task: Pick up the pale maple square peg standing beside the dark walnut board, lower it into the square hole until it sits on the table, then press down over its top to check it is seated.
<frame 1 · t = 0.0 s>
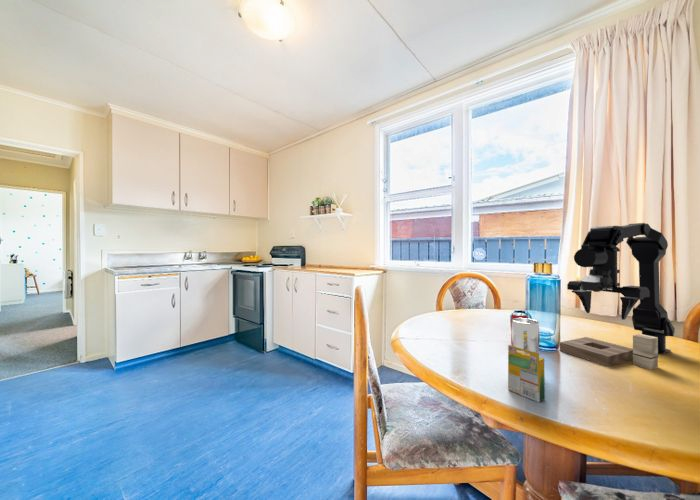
hand: (604, 316, 88), 15 cm above the table, tool pointing down, fingers open, 9 cm apart
white box: (525, 372, 82), on the table
maple peg: (645, 365, 85), on the table
beverage can: (519, 347, 102), on the table
walnut board: (596, 354, 94), on the table
crayon box: (525, 395, 69), on the table
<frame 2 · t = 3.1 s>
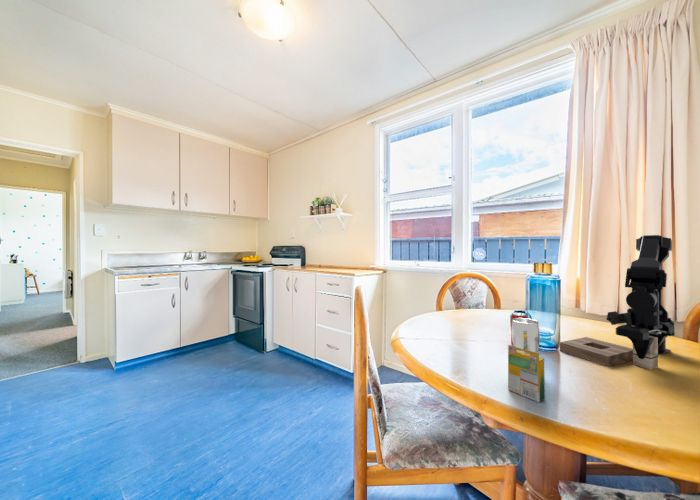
hand: (645, 357, 85), 3 cm above the table, tool pointing down, fingers closed on maple peg, 4 cm apart
maple peg: (645, 365, 85), on the table, touching gripper
everything else where it was.
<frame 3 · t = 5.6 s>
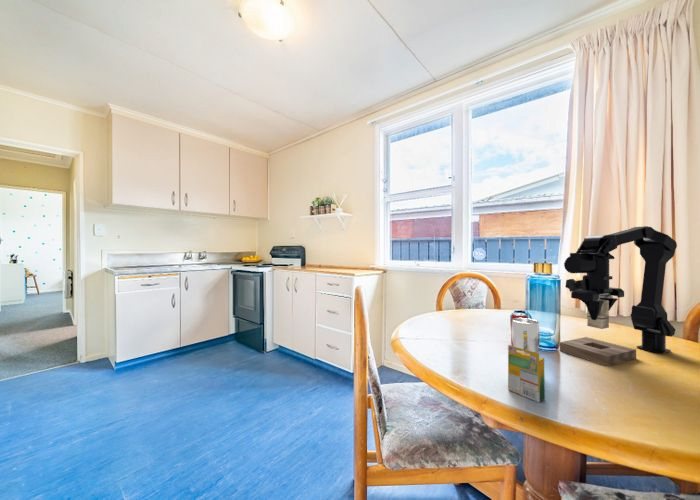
hand: (597, 319, 94), 12 cm above the table, tool pointing down, fingers closed on maple peg, 4 cm apart
maple peg: (598, 326, 94), point 10 cm above the table, touching gripper
everything else where it was.
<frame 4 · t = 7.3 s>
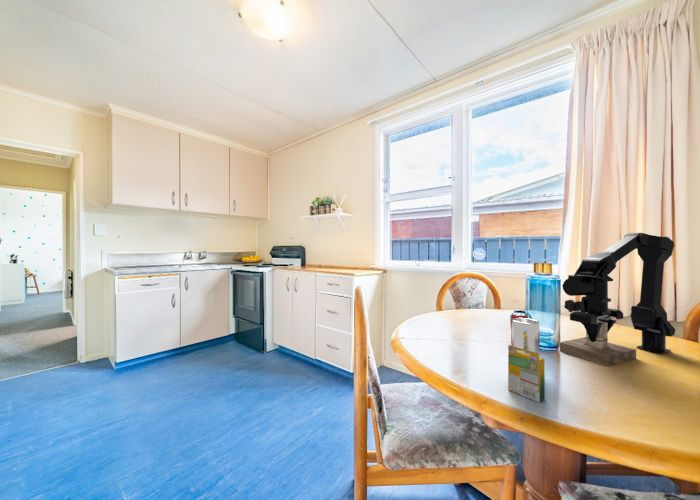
hand: (596, 340, 94), 5 cm above the table, tool pointing down, fingers closed on maple peg, 4 cm apart
maple peg: (596, 348, 94), point 2 cm above the table, touching gripper
everything else where it was.
when the fingers open (4 cm above the table, at t = 8.5 s): maple peg drops 1 cm, resting in walnut board.
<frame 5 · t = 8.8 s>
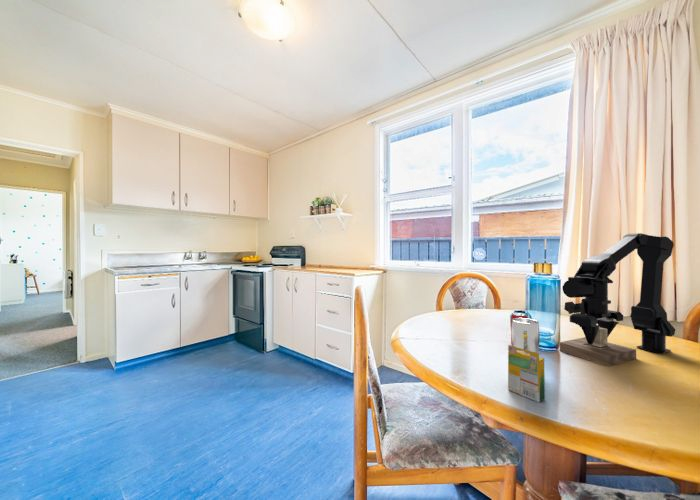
hand: (596, 342, 94), 4 cm above the table, tool pointing down, fingers open, 7 cm apart
maple peg: (596, 354, 94), resting in walnut board
everything else where it was.
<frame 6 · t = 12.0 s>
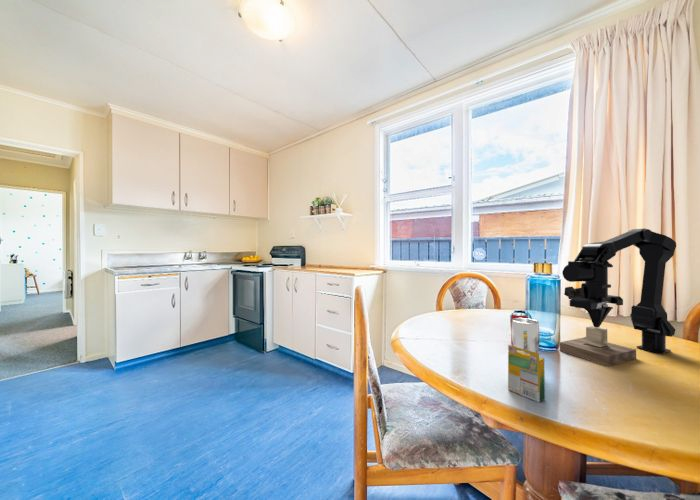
hand: (596, 327, 94), 9 cm above the table, tool pointing down, fingers closed
nothing on the table moved.
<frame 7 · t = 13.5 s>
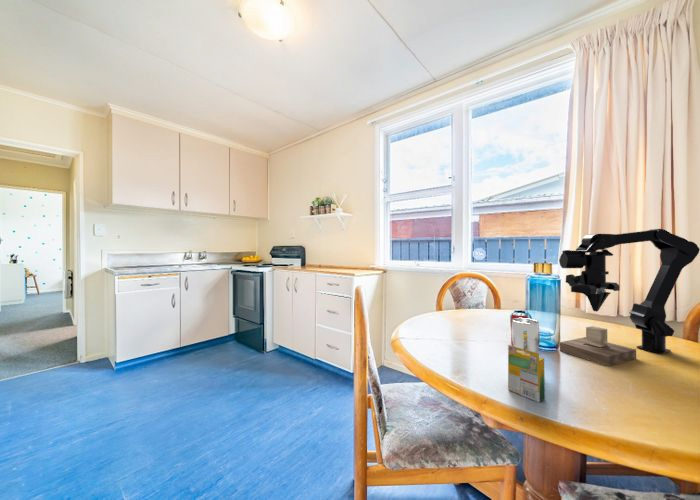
hand: (595, 311, 102), 13 cm above the table, tool pointing down, fingers closed
nothing on the table moved.
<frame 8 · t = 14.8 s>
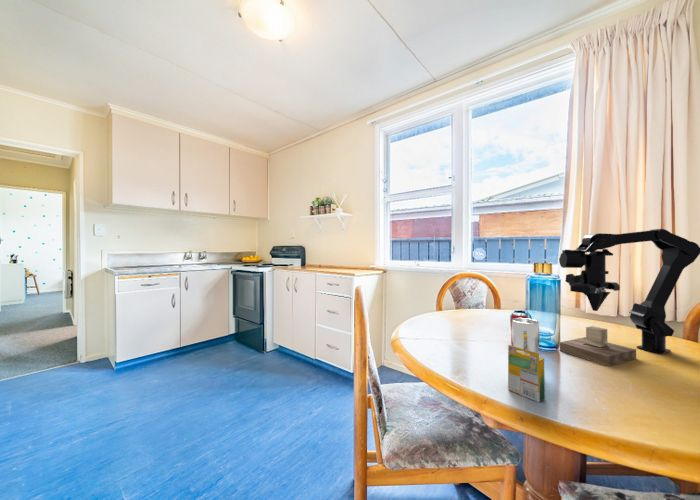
hand: (595, 310, 102), 13 cm above the table, tool pointing down, fingers closed
nothing on the table moved.
at the end: maple peg 0.1 cm from the walnut board (horizontally); maple peg resting in walnut board; maple peg tilted 0° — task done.
